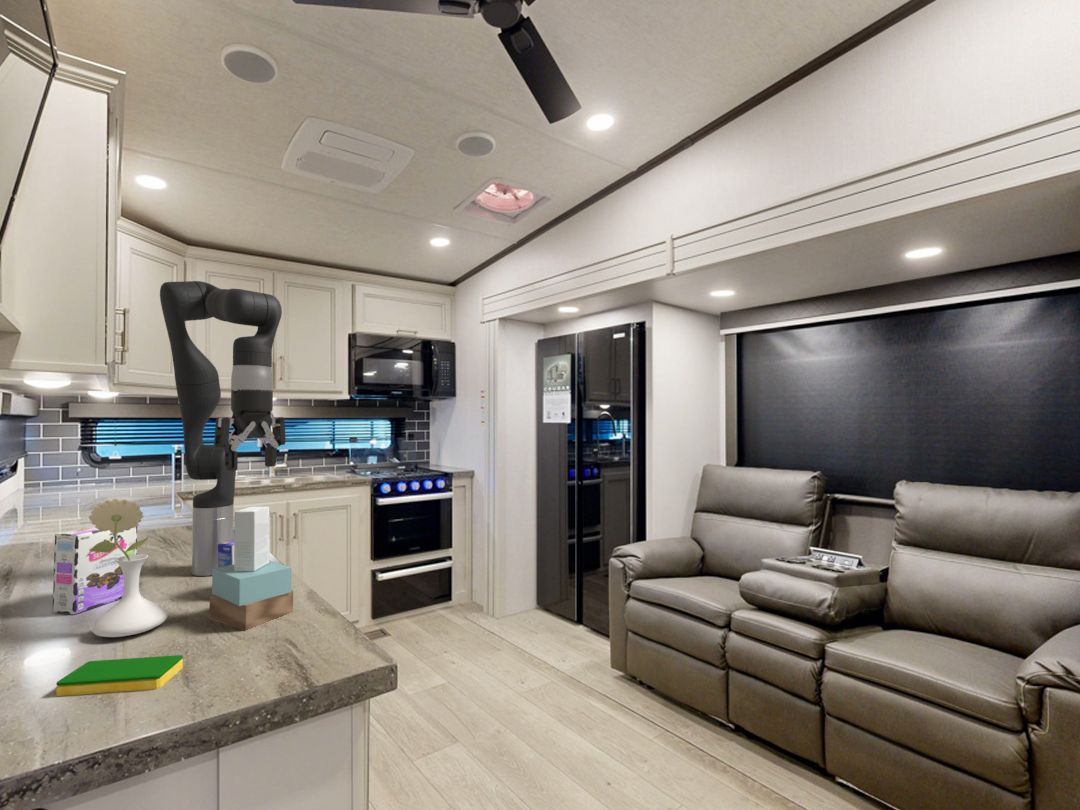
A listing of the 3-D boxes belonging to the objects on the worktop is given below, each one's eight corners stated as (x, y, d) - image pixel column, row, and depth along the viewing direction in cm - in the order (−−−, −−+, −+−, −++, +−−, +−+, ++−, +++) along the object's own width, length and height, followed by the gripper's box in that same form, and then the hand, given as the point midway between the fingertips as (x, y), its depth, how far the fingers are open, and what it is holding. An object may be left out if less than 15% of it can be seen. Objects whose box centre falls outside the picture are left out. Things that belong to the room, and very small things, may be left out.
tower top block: (262, 581, 115) (262, 558, 116) (291, 592, 108) (291, 567, 108) (212, 593, 107) (212, 568, 108) (239, 606, 100) (239, 579, 100)
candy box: (74, 615, 108) (75, 534, 109) (51, 613, 110) (52, 533, 110) (137, 593, 122) (138, 521, 122) (116, 592, 123) (117, 520, 124)
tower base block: (256, 605, 115) (257, 582, 115) (293, 615, 109) (293, 590, 109) (209, 620, 106) (209, 595, 106) (245, 632, 100) (246, 605, 100)
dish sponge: (159, 691, 79) (159, 675, 79) (54, 699, 77) (54, 682, 77) (183, 669, 86) (184, 654, 86) (88, 675, 84) (88, 660, 84)
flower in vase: (179, 617, 107) (180, 493, 108) (147, 641, 96) (149, 502, 96) (106, 622, 105) (108, 495, 105) (65, 646, 94) (67, 504, 94)
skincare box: (249, 563, 111) (250, 506, 112) (269, 563, 111) (270, 506, 112) (232, 572, 105) (233, 511, 105) (254, 572, 105) (255, 511, 105)
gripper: (269, 390, 117) (269, 464, 116) (206, 387, 104) (205, 470, 103) (294, 390, 114) (294, 466, 113) (232, 386, 101) (231, 472, 100)
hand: (251, 468), depth 108 cm, fingers open, 8 cm apart
